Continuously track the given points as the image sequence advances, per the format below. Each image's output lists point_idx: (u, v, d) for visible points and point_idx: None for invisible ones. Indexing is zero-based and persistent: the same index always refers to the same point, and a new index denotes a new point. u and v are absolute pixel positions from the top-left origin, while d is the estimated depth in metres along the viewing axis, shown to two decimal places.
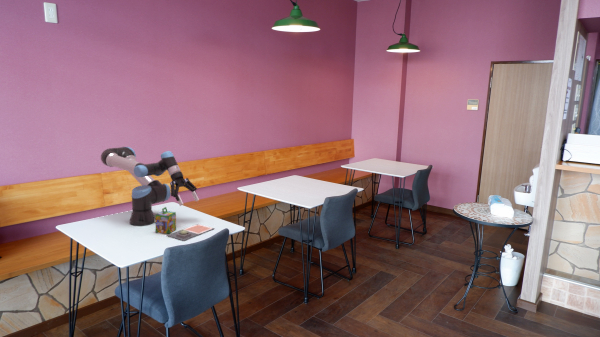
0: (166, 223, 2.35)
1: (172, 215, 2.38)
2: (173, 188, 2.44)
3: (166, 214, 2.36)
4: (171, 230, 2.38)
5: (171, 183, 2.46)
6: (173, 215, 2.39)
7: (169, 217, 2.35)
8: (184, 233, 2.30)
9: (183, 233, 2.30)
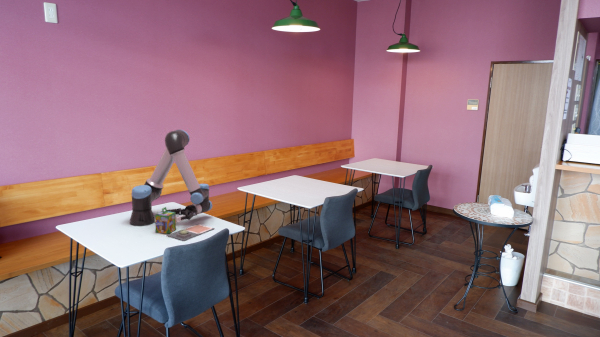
0: (166, 223, 2.35)
1: (172, 215, 2.38)
2: (191, 217, 2.46)
3: (166, 214, 2.36)
4: (171, 230, 2.38)
5: (194, 213, 2.50)
6: (173, 215, 2.39)
7: (169, 217, 2.35)
8: (184, 233, 2.30)
9: (183, 233, 2.30)
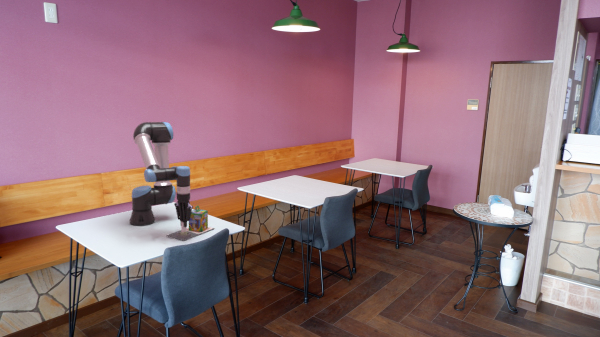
0: (199, 221, 2.39)
1: (204, 213, 2.42)
2: None
3: (199, 212, 2.40)
4: (204, 228, 2.42)
5: None
6: (205, 213, 2.43)
7: (202, 215, 2.39)
8: (184, 234, 2.30)
9: (183, 234, 2.30)
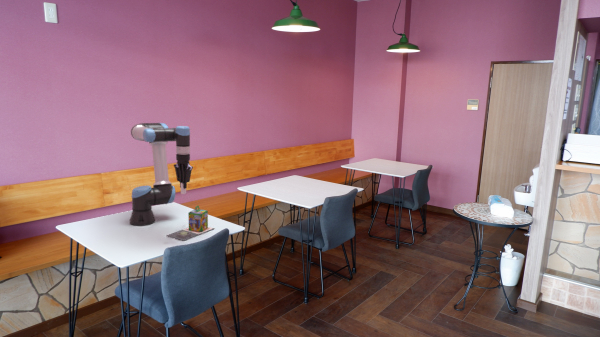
0: (199, 221, 2.39)
1: (204, 213, 2.42)
2: (176, 173, 2.27)
3: (199, 212, 2.40)
4: (204, 228, 2.42)
5: None
6: (205, 213, 2.43)
7: (202, 215, 2.39)
8: (184, 234, 2.30)
9: (183, 234, 2.30)
